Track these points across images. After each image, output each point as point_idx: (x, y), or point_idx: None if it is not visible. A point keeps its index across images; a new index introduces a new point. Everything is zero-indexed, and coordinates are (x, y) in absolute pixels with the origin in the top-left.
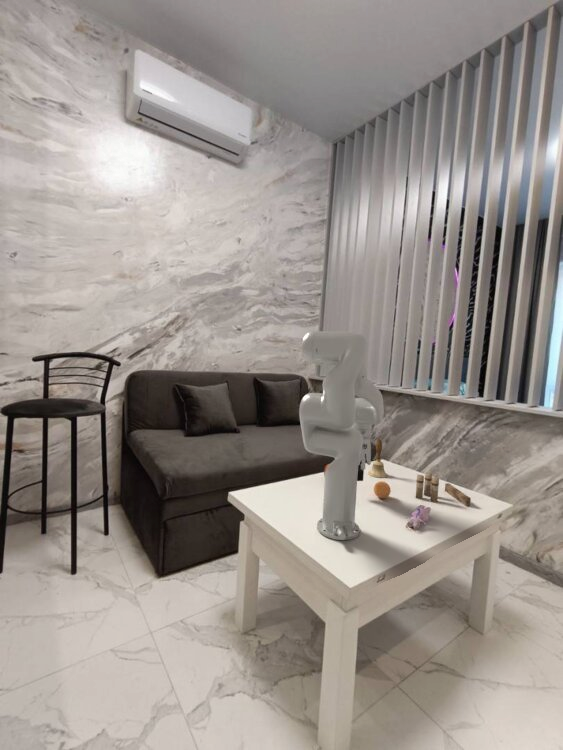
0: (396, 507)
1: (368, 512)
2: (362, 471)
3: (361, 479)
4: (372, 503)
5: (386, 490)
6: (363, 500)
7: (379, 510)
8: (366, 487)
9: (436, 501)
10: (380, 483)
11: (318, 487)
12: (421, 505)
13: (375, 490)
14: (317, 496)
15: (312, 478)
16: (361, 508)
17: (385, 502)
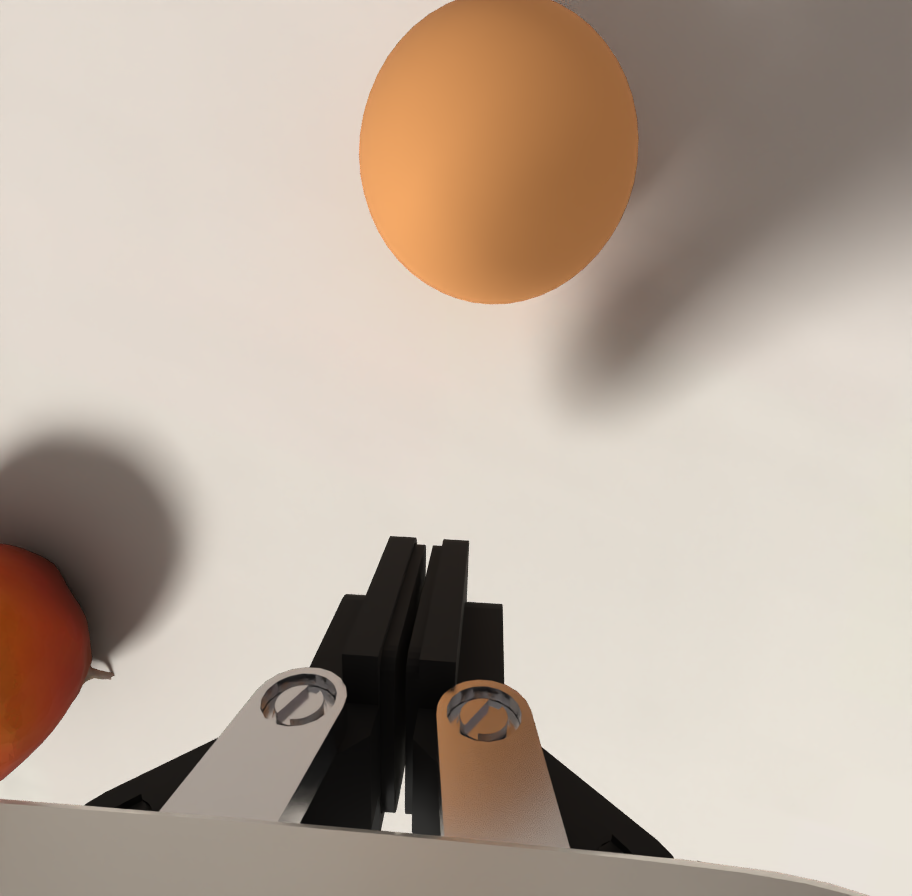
0: (831, 95)
1: (886, 528)
2: (457, 673)
3: (467, 577)
4: (662, 388)
5: (635, 129)
6: (568, 465)
7: (866, 379)
8: (171, 274)
9: None
10: (532, 201)
11: None
12: None
13: (525, 298)
14: None
15: (9, 780)
16: (773, 564)
17: (654, 196)
